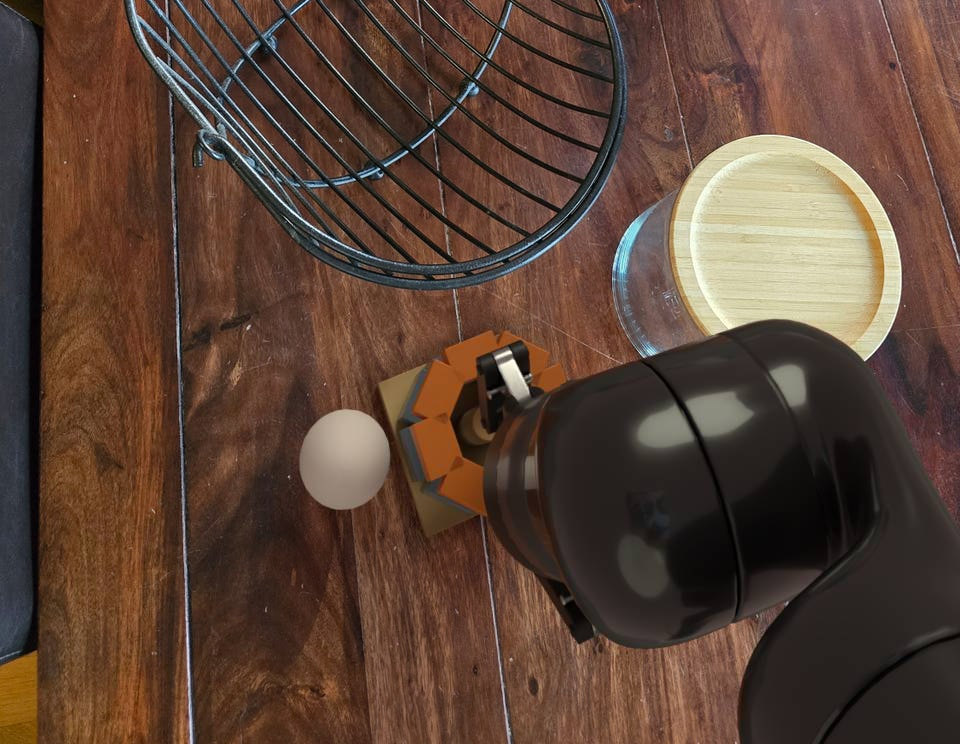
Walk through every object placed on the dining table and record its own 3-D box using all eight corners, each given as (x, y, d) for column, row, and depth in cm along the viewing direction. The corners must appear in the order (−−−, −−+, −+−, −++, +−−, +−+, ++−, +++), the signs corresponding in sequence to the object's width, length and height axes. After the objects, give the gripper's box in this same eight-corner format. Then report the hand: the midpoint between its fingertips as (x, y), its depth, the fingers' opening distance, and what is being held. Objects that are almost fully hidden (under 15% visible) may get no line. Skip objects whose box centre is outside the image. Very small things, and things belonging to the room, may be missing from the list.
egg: (402, 449, 71) (414, 444, 64) (349, 529, 68) (355, 532, 62) (335, 394, 72) (340, 384, 65) (280, 471, 69) (280, 468, 63)
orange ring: (593, 472, 63) (602, 471, 62) (446, 540, 61) (450, 541, 59) (533, 315, 67) (539, 310, 65) (391, 373, 64) (393, 369, 62)
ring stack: (560, 475, 71) (594, 473, 63) (425, 537, 69) (443, 542, 61) (506, 332, 75) (532, 312, 67) (376, 384, 72) (387, 371, 64)
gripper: (444, 348, 49) (407, 384, 64) (571, 711, 43) (498, 657, 59) (600, 285, 51) (529, 334, 66) (739, 624, 46) (627, 593, 61)
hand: (514, 486), depth 62 cm, fingers closed on orange ring, 2 cm apart
